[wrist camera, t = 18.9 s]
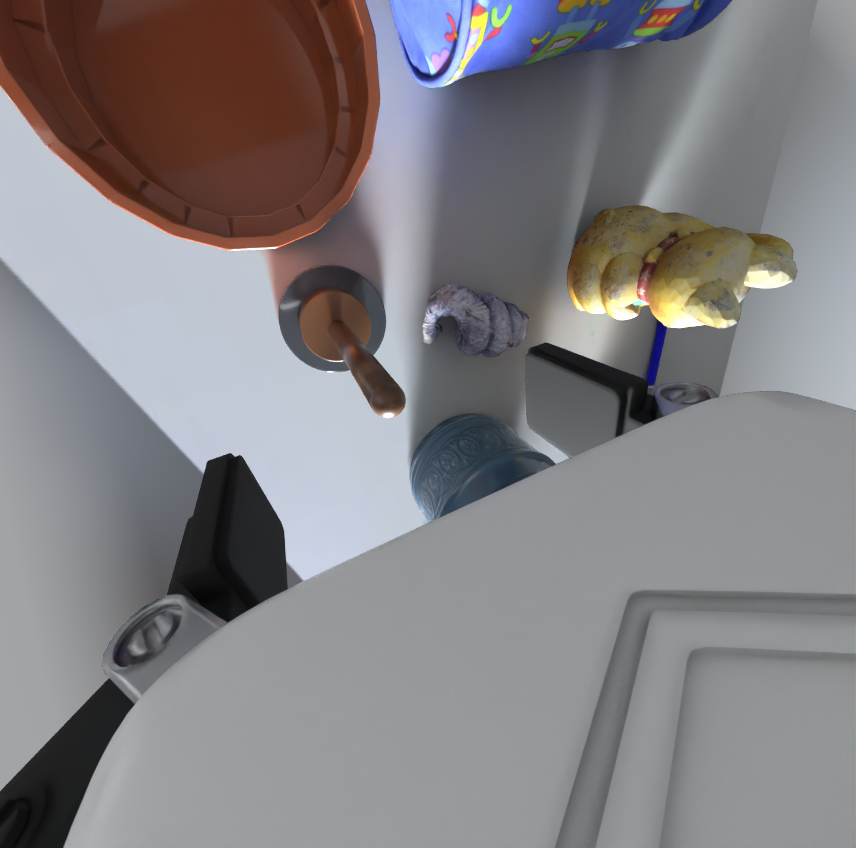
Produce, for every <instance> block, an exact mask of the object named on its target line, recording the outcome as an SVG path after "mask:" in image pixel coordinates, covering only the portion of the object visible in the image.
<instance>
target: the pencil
mask: <svg viewBox="0 0 856 848" xmlns="http://www.w3.org/2000/svg"><path fill="white" fill-rule="evenodd" d="M666 330H667V327H666V326H664V325H663V323H662V322H660V321H659V323H658V327H657V332H656V337H655V342H654V347H653V352H652V357H651V361H650V366H649V371H648V376H647V380H648V381H649V385H648V390H647V393H648V394H650V395H652V394H653V389H654V385H655V380H656V376H657V371H658V367H659V362H660V358H661V353H662V349H663V344H664V339H665V335H666Z"/></svg>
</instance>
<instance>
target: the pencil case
mask: <svg viewBox="0 0 856 848" xmlns="http://www.w3.org/2000/svg"><path fill="white" fill-rule="evenodd" d="M731 1H732V0H389V2H390V5H391V9H392V13H393V17H394V21H395V25H396V28H397V30H398V34H399V39H400V43H401V47H402V51H403V54H404V57H405V60H406V63H407V65H408V67H409V69H410V71H411V73H412V75H413V76H414V78H415V79H416V80H417V81H418V82H419V83H420V84H421V85H423V86H425V87H429V88H434V87H443V86H447V85H449V84H451V83H453V82H454V81H456V80H458V79H460V78H463V77H466V76H469V75H472V74H475V73H478V72H489V71H497V70H503V69H509V68H515V67H519V66H523V65H527V64H530V63H533V62H536V61H540V60H545V59H548V58H552V57H556V56H560V55H565V54H568V53H570V52H572V51H591V50H610V49H618V48H625V47H630V46H635V45H640V44H644V43H648V42H651V41H653V40H655V39H658V40H660V41H670V40H677V39H679V38H682V37H685V36H688V35H690V34H692V33H694V32H696V31H698V30H699V29H701V28H703V27H704V26H706V25H707V24H708V23H710V22H711V21H712V20H713V19H714V18H716V17H717V16H718V15H719V14H720V13H721V12H722V11H723V10H724V9H725V8H726V7H727V6H728V5H729V3H730V2H731Z"/></svg>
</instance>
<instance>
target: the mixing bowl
mask: <svg viewBox="0 0 856 848" xmlns="http://www.w3.org/2000/svg"><path fill="white" fill-rule="evenodd" d="M0 86H1V88H2V89H3V90H4V92H5V93H6V94H7V96H8V97H9V98H10V99H11V101H12V102H13V103H14V105H15V106H16V107H17V109H18V110H19V111H20V113H21V114H22V115H23V116H24V118H25V119H26V120H27V122H28V123H29V124H30V126H31V127H32V128H33V130H34V131H35V132H36V133H37V135H38V136H39V137H40V139H41V140H42V141H43V143H44V144H45V145H46V146H47V147H48V148H49V149H50V150H51V151H52V152H53V153H54V154H56V155H57V156H58V157H59V158H60V159H61V160H63V161H64V162H65V163H66V164H67V165H68V166H69V167H71V168H72V169H73V170H74V171H75V172H76V173H77V174H79V175H80V176H81V177H82V178H83V179H84V180H86V181H87V182H88V183H89V184H90V185H91V186H92V187H94V188H95V189H96V190H97V191H98V192H99V193H101V194H102V195H103V196H104V197H105V198H106V199H107V200H109V201H111V202H112V203H113V204H115V205H117V206H118V207H120V208H122V209H124V210H126V211H128V212H129V213H131V214H133V215H135V216H137V217H138V218H140V219H142V220H144V221H146V222H148V223H149V224H151V225H153V226H155V227H157V228H159V229H160V230H162V231H164V232H166V233H168V234H170V235H172V236H174V237H178V238H182V239H186V240H190V241H194V242H198V243H202V244H206V245H209V246H213V247H217V248H221V249H225V250H247V249H268V248H279V247H281V246H284V245H286V244H288V243H291V242H293V241H295V240H298V239H300V238H302V237H305V236H307V235H310V234H312V233H314V232H317V231H318V230H320V229H321V228H322V227H323V226H324V225H325V224H326V223H327V222H328V221H329V220H330V219H331V218H332V217H333V216H334V215H335V214H336V213H337V212H338V211H339V210H340V209H341V208H342V207H343V206H344V205H345V204H346V203H347V202H348V201H349V200H350V199H351V197H352V195H353V193H354V191H355V189H356V186H357V184H358V182H359V180H360V178H361V176H362V174H363V172H364V170H365V168H366V166H367V164H368V162H369V160H370V156H371V154H372V148H373V142H374V136H375V130H376V124H377V118H378V112H379V106H380V90H379V77H378V64H377V51H376V38H375V34H374V29H373V25H372V22H371V18H370V15H369V11H368V8H367V5H366V1H365V0H0Z"/></svg>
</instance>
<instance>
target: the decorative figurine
mask: <svg viewBox="0 0 856 848" xmlns="http://www.w3.org/2000/svg"><path fill="white" fill-rule="evenodd" d="M574 247H575V248H574V249H573V250H572V256H571V259H570V263H569V267H568V275H567V285H568V291H569V294H570V296H571V299H572V301H573V303H574V305H575V307H576V308H577V309H578V310H581V311H583V310H586V311H587V312H589V313H593V314H598V313H605V312H607V313H608V314H609V315H610V316H612V317H613V318H615V319H617V320H627V319H631V318H635V317H636V316H638V315H639V313H640V310H641V309H640V308H641V307H642V306H645V305H649V307H650V309H651V311H652V314H653V315H654V316H655V317H656V318H657V319H658V320H659V321H660V322H662V323H663V325H664V326H666V327H671V328H684V327H689V326H699V325H708V326H711V327H715V328H728V327H731V326H733V325H734V324H736V323H737V322H738V320H739V319H740V315H741V311H740V306H739V302H740V301H741V300H742V299H743V298H744V297H745V295H746V294H747V293H748V291H749V289H750V287H757V288H776V287H780V286H784V285H786V284H788V283H790V282H792V281H794V279H795V277H796V274H797V268H796V264H795V262H794V261H793V249H792V248H791V246H790V244H789V243H787V242H786V241H785V240H783V239H781V238H778V237H775V236H772V235H768V234H756V233H743V232H741V231H738V230H735V229H730V228H726V227H718V228H717V227H715V226H712V225H710V224H708V223H705V222H703V221H701V220H698V219H696V218H694V217H691V216H688V215H685V214H680V213H661V212H659V211H657V210H655V209H653V208H650V207H647V206H640V205H635V206H626V207H621V208H617V209H605V210H602V211H600V212H599V213H598V215H597V216H595V218H594V222H593V224H592V225H591V226H590V227H589V228H588V229H587V230H586V231H585V232H584V234H583V235H582V236H581V238H580V239H579V241H578V242H577V243H576V245H575V246H574Z"/></svg>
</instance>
